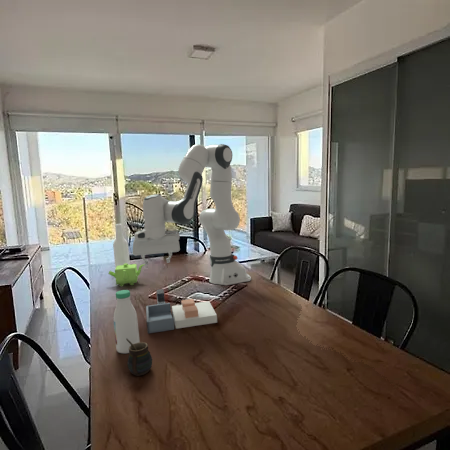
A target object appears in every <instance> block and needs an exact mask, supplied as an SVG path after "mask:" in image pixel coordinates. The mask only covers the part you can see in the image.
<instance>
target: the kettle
mask: <svg viewBox="0 0 450 450" xmlns="http://www.w3.org/2000/svg"><path fill="white" fill-rule="evenodd" d="M144 266H146V265H145V263H144V264H140V265H139V267H137V263H133V264H131V263H130V265H128V264H123V265H119V266H117V267H116V268H115V269H114V271H112V270H109V271H108V275H110V276H112V277H113V278H115V285H119V287H124V286H125V284H126V285H127V284H129V286H134V285H135V283H138V280H139V279H138V278H139V276H140V274H141V272H142V268H143V267H144Z"/></svg>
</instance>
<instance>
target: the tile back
mask: <svg viewBox="0 0 450 450" xmlns="http://www.w3.org/2000/svg"><path fill="white" fill-rule="evenodd" d="M180 301H181V303H180V305H182V309H183V310H184V308H183V307H189V306H195V303H196V302H195V300H194V299H193V298H190V299H183V300H180Z"/></svg>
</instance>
